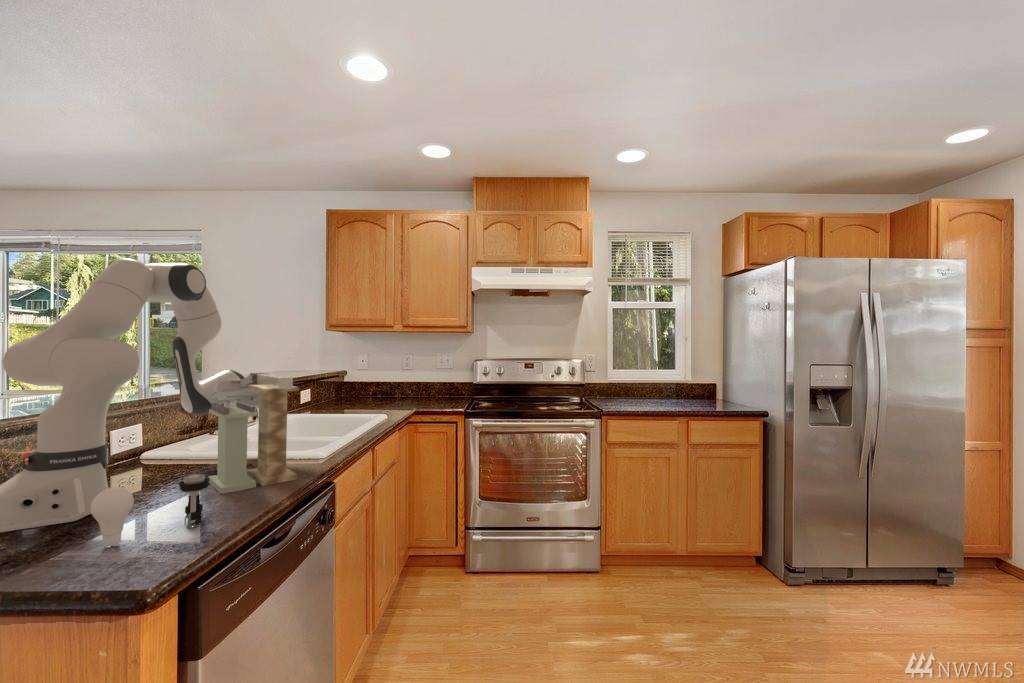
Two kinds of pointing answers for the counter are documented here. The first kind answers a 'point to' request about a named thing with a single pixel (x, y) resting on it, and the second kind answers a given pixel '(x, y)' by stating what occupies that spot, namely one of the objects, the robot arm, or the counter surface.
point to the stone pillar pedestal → (272, 437)
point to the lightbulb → (112, 512)
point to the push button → (194, 497)
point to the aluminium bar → (273, 380)
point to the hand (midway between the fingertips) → (260, 376)
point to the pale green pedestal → (232, 448)
